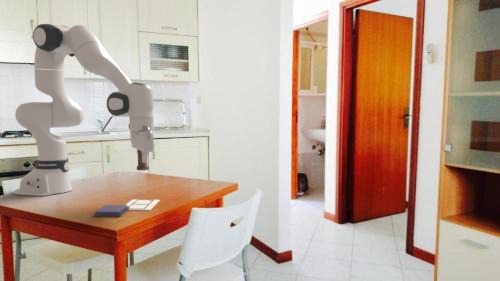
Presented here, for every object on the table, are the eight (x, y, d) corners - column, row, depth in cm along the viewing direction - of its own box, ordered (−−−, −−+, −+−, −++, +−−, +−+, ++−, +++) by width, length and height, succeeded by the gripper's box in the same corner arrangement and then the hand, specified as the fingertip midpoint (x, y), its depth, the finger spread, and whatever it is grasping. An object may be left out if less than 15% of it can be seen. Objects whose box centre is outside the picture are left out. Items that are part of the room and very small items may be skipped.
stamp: (135, 170, 134) (134, 146, 133) (138, 168, 138) (138, 145, 138) (146, 170, 134) (146, 146, 133) (150, 168, 138) (149, 145, 138)
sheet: (119, 210, 127) (119, 209, 127) (132, 200, 141) (132, 199, 141) (150, 210, 127) (150, 209, 127) (160, 200, 141) (160, 199, 141)
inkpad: (93, 216, 120) (93, 211, 120) (104, 208, 129) (104, 204, 129) (120, 216, 120) (120, 212, 120) (129, 209, 129) (129, 204, 129)
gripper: (157, 126, 127) (158, 164, 129) (143, 124, 145) (144, 157, 146) (140, 127, 124) (140, 166, 125) (127, 124, 142) (128, 158, 143)
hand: (142, 161), depth 136 cm, fingers closed on stamp, 4 cm apart
